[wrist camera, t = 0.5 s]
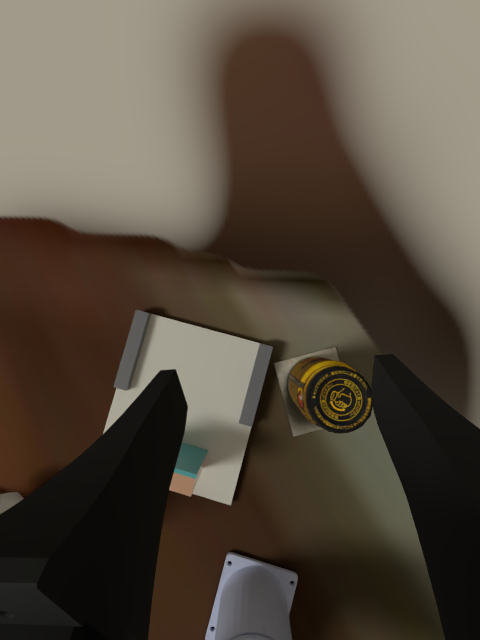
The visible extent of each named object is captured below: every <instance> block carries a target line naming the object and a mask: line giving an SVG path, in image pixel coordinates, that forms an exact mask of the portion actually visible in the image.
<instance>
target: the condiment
mask: <svg viewBox="0 0 480 640" xmlns="http://www.w3.org/2000/svg"><path fill="white" fill-rule="evenodd" d="M274 365H275V369H276V373H277V377H278V380H279V384H280V388H281V391H282V395H283V399H284V403H285V406H286V410H287V414H288V418H289V421H290V425H291V429H292V432H293V436H298V435H301V434H304V433H308V432H312V431H316V430H319V429H325V430H327V431H328V432H334V433H348V432H352V431H354V430H357V429H358V428H360V427H361V426H363V425H364V423H365V422H366V421H367V420H368V419H369V417H370V416H371V411H372V406H373V405H372V401H371V398H370V396H371V389H370V386H369V384H368V383H367V381H366V380H365V379H364V377H363V376H361V375H360V374H359V373H357V372H356V371H355V370H354V369H353V368H352V367H350V366H348V365H347V364H345V363H343V362H340V361H339V358H338V354H337V350H336V347H334V348H330V349H326V350H322V351H318V352H314V353H310V354H307V355H303V356H299V357H295V358H291V359H288V360H284V361H280V362H276V363H274Z"/></svg>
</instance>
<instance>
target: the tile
mask: <svg viewBox="0 0 480 640" xmlns="http://www.w3.org/2000/svg"><path fill="white" fill-rule="evenodd" d="M207 452H208V450H206V449H203V448H199V447H196V446H192V445H189V444H186V443H182V444H181V448H180V452H179V455H178V459H177V463H176V466H175V470H174V474H173V477H172V481H171V485H170V488H169V490H171V491H174V492H177V493H180V494H184V495H187V496H190V497H191V495H192V493H193V491H194V488H195V486H196V484H197V481H198V479H199V477H200V474H201V472H202V470H203V467H204V463H205V460H206V456H207Z"/></svg>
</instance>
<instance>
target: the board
mask: <svg viewBox="0 0 480 640" xmlns="http://www.w3.org/2000/svg"><path fill="white" fill-rule="evenodd" d="M272 349H273V347H272V346H268V345H265V344H261V343H257V342H253V341H250V340H246V339H242V338H239V337H235V336H231V335H228V334H224V333H220V332H216V331H213V330H209V329H205V328H202V327H198V326H194V325H191V324H187V323H183V322H180V321H176V320H172V319H168V318H165V317H161V316H157V315H154V314H150V313H147V312H143V311H139V310H136V312H135V315H134V319H133V322H132V325H131V329H130V332H129V336H128V339H127V343H126V346H125V349H124V353H123V356H122V360H121V363H120V367H119V370H118V373H117V377H116V380H115V384H114V387H115V388H116V392H115V395H114V399H113V402H112V406H111V409H110V412H109V416H108V419H107V423H106V426H105V430H104V433H105V432H106V431H107V430H108V429H109V428H110V427H111V425H112V424H113V423H114V422H115V421H116V420H117V419H118V418H119V417H120V416H121V415H122V414H123V413H124V412H125V411H126V409H127V408H128V407H129V406H130V405H131V404H132V403H133V402H134V400H135V399H136V398H137V397H138V396H139V395H140V393H141V392H142V391H143V390H144V389H145V387H146V386H147V385H148V384H149V383H150V382H151V380H152V379H153V378H154V377H155V376H156V375H157V373H158V372H159V371H160V370H170V369H176V371H177V374H178V377H179V380H180V383H181V387H182V390H183V393H184V396H185V399H186V402H187V405H188V411H187V419H186V426H185V433H184V436H183V440H182V443H186V444H189V445H192V446H196V447H199V448H203V449H206V450H208V452H207V456H206V460H205V463H204V467H203V470H202V472H201V474H200V477H199V479H198V481H197V484H196V486H195V488H194V491H193V493H192V494H195V495H198V496H202V497H205V498H208V499H211V500H215V501H218V502H221V503H224V504H228V505H231V503H232V499H233V495H234V491H235V487H236V484H237V480H238V476H239V472H240V468H241V465H242V461H243V457H244V453H245V450H246V446H247V442H248V438H249V434H250V431H251V427H252V425H253V421H254V417H255V413H256V410H257V406H258V402H259V398H260V395H261V391H262V387H263V383H264V379H265V376H266V372H267V368H268V364H269V360H270V357H271V353H272ZM104 433H103V434H104Z"/></svg>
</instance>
